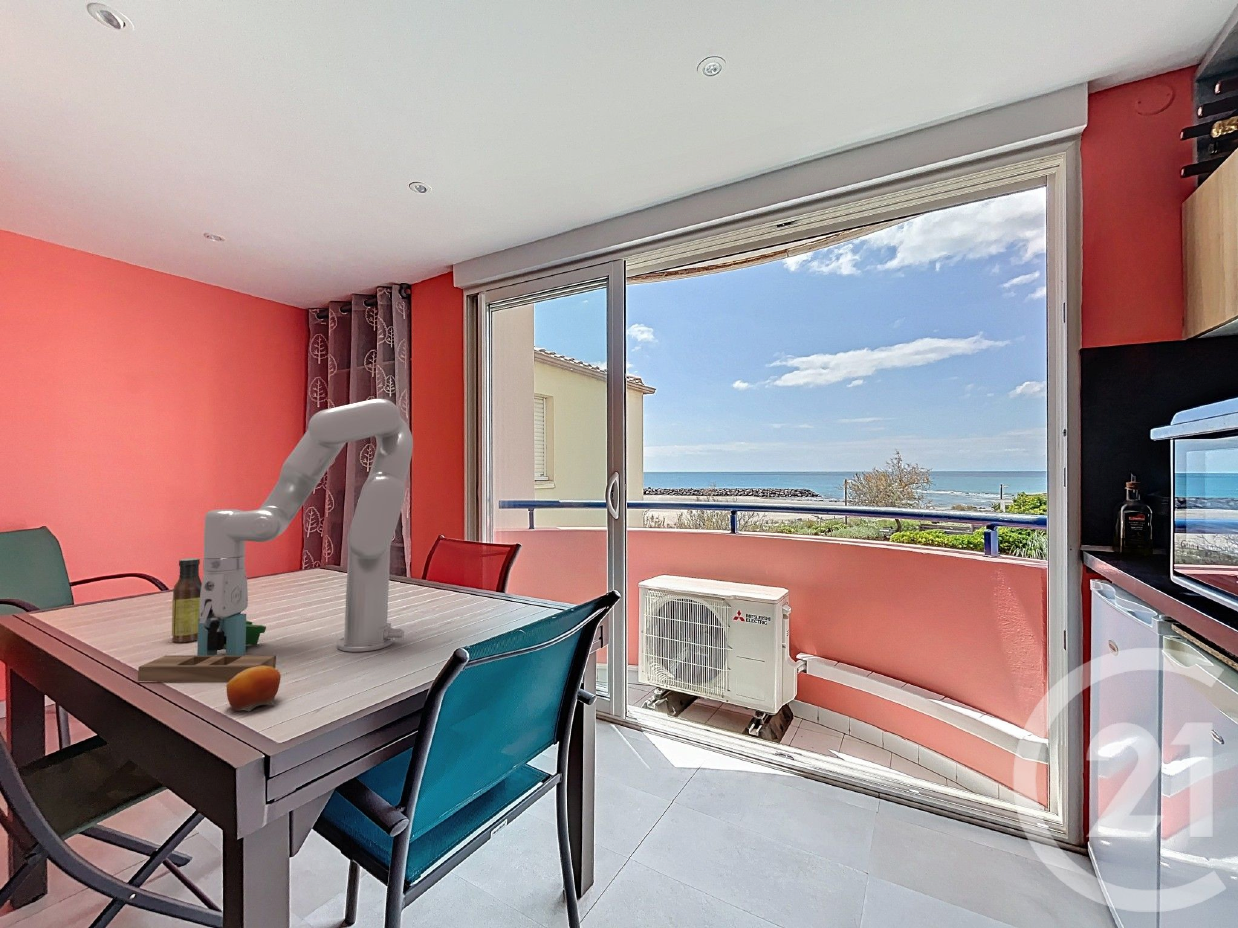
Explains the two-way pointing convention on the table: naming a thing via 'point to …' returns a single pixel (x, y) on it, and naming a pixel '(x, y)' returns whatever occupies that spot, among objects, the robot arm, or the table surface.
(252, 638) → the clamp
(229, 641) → the clip
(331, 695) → the table surface
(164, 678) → the slotted wooden board
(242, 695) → the fruit
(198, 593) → the sauce bottle
